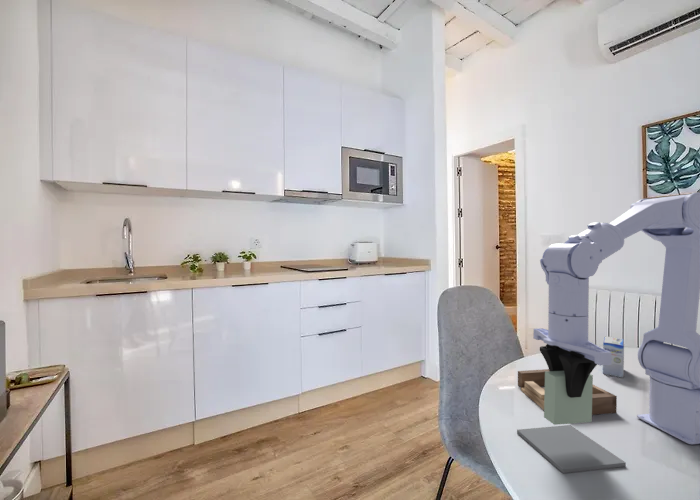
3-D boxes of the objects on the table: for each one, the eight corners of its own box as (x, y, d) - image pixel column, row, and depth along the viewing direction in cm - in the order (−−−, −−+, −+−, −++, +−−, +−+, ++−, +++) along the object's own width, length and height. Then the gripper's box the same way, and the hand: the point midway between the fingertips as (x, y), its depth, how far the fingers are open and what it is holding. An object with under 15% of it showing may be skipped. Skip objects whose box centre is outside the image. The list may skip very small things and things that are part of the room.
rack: (616, 412, 69) (616, 396, 69) (566, 417, 67) (566, 399, 67) (559, 382, 84) (559, 368, 84) (517, 385, 83) (517, 371, 83)
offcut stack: (559, 415, 69) (559, 400, 69) (548, 415, 69) (548, 401, 69) (530, 391, 80) (530, 379, 80) (520, 391, 80) (520, 379, 80)
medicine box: (603, 365, 96) (604, 335, 96) (623, 369, 93) (624, 338, 93) (602, 374, 90) (602, 342, 89) (623, 378, 87) (624, 345, 87)
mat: (625, 466, 52) (625, 462, 52) (562, 473, 51) (562, 469, 51) (570, 428, 63) (570, 425, 63) (517, 432, 62) (517, 429, 62)
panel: (591, 422, 56) (592, 375, 56) (554, 424, 55) (555, 376, 55) (579, 414, 59) (581, 369, 59) (543, 417, 58) (544, 371, 58)
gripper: (519, 306, 63) (518, 377, 64) (582, 324, 49) (581, 415, 49) (552, 305, 64) (552, 374, 64) (624, 322, 50) (623, 412, 50)
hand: (567, 392), depth 57 cm, fingers closed on panel, 2 cm apart
